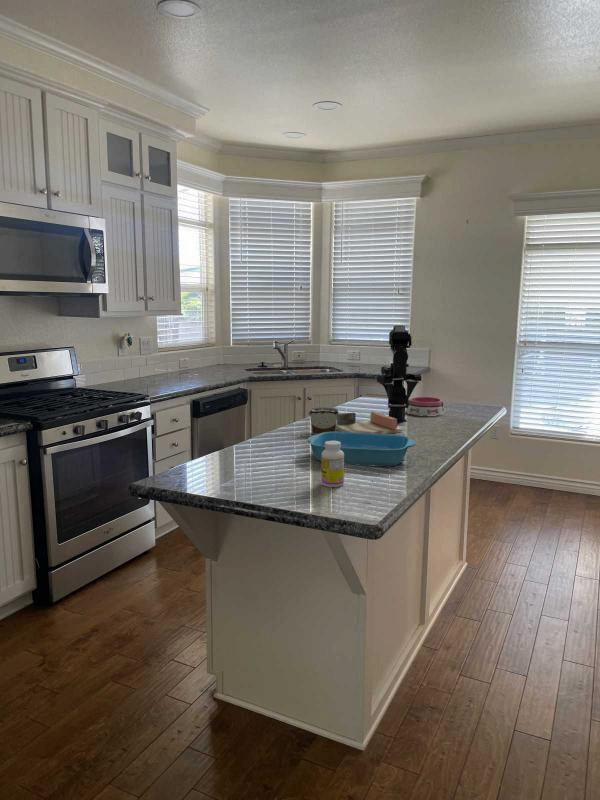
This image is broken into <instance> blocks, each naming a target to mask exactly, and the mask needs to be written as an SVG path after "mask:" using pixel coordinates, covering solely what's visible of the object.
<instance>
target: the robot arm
mask: <svg viewBox="0 0 600 800" xmlns="http://www.w3.org/2000/svg"><path fill="white" fill-rule="evenodd" d="M412 344H413V343H412V335H411V333H409V330H406V326H405V325H403V324H401V325H400V324H399V325H393V329H392V330H391V331H389V334H388V346H389V345H390V351H391V353H392V362H391V363H390V367H388V366H382V367H381V368H380V371H381V372H380V373H381V374H380V375H379V374H378V376H377V378H376V382H377V383H379V384H380V385H382V387H384V390H385V392H386V397H387V409H389V410H388V416H389V417H393V418H396V419H397V423H402V422H408V420H407V419H406V409H407V408H408V404H409V399H410V398H411V396H412V394H413V391H414V389H416V386H417V384H420V382H422V380H423V378H422V375H421V373H416V372H407V370H408V369H407V368H408V367H409V366H410V364H408V359H409V354H408V349H410V348H411V347H412V346H413V345H412ZM403 381H405V383H406V388H405V386H404V385H403ZM392 382H393V383H392Z"/></svg>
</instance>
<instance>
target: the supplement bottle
mask: <svg viewBox="0 0 600 800" xmlns="http://www.w3.org/2000/svg"><path fill="white" fill-rule="evenodd" d="M340 447H341V442H339V441H326V442H325V448H326V449H325V450H324V451H323V452H322V455H321V461H320V462H321V466H320V467H321V477H320V479H321V480H320V481H321V482H320V483H321V484H322V486H323V485H324V487H326V486H327V487H326V488H332V487H334V488H340V487H342V486H343V485H344V484H345V464H344V453H343V451H342V450H340ZM339 486H340V487H339Z"/></svg>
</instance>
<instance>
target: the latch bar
mask: <svg viewBox="0 0 600 800" xmlns="http://www.w3.org/2000/svg"><path fill="white" fill-rule="evenodd" d="M369 421H370V422H373V423H376V424H379V425H381V426H384V427H387V428H390V429H397V427H398V422H397V419H396V418H393V417H389V415H386V414H384V413H379V412H377V411H370V420H369Z"/></svg>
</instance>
